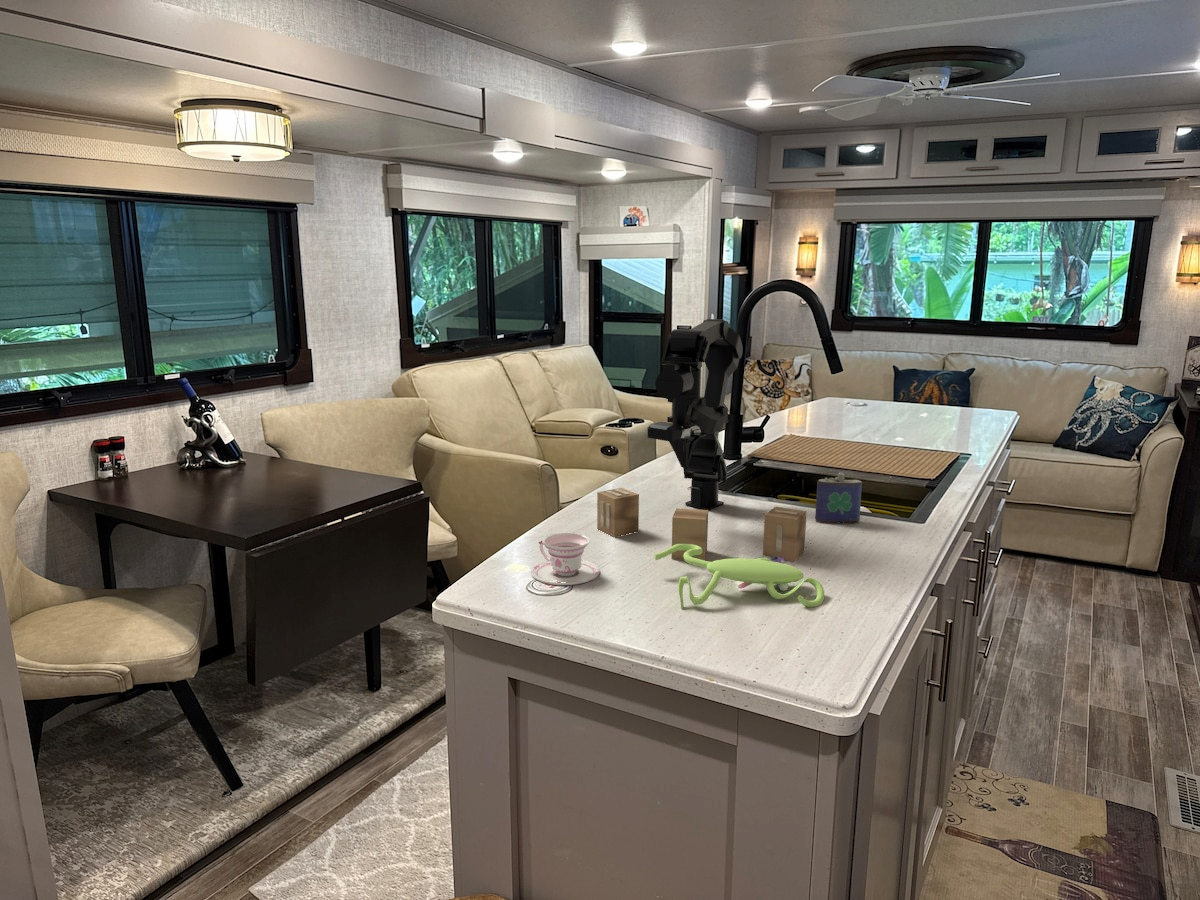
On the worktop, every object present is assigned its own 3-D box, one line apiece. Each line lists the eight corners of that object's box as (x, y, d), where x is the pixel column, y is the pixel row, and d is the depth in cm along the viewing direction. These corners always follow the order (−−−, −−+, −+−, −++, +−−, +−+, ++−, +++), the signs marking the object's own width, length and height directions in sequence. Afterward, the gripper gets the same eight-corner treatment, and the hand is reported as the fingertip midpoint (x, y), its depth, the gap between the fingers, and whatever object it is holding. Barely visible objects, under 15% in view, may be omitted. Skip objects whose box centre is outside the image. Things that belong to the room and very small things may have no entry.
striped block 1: (621, 524, 170) (621, 486, 168) (638, 532, 165) (638, 493, 163) (596, 530, 167) (596, 491, 165) (613, 538, 162) (613, 498, 160)
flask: (857, 520, 173) (861, 471, 171) (861, 524, 170) (865, 474, 168) (813, 519, 174) (816, 470, 171) (816, 523, 171) (819, 474, 168)
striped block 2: (773, 546, 157) (775, 505, 155) (804, 551, 154) (806, 510, 152) (762, 556, 152) (764, 513, 150) (794, 561, 149) (796, 518, 147)
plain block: (675, 548, 156) (676, 508, 154) (707, 550, 155) (708, 510, 153) (671, 559, 150) (672, 517, 148) (704, 561, 149) (705, 519, 147)
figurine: (652, 569, 146) (652, 539, 145) (801, 568, 146) (802, 538, 145) (661, 612, 128) (662, 578, 127) (831, 610, 128) (833, 577, 127)
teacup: (607, 565, 147) (607, 532, 146) (588, 590, 136) (588, 555, 135) (545, 559, 151) (544, 526, 149) (520, 582, 139) (520, 548, 138)
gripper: (693, 402, 153) (690, 482, 156) (745, 391, 167) (742, 465, 170) (645, 396, 160) (644, 473, 163) (699, 385, 174) (697, 457, 177)
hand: (684, 467), depth 168 cm, fingers closed
